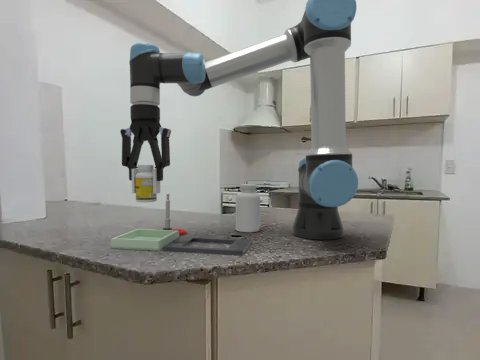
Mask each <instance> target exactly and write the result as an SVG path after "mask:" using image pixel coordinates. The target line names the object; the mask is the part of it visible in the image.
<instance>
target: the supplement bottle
mask: <svg viewBox="0 0 480 360" xmlns="http://www.w3.org/2000/svg"><path fill="white" fill-rule="evenodd" d="M137 167H138V168H137V169H138V170H139V173H137V174H136V176H135V184H136V193H135V201H136V202H137V203H153V202H156V201H157V195H158V193H157V194H153V169H154V164H137Z"/></svg>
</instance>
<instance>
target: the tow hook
mask: <svg viewBox="0 0 480 360" xmlns="http://www.w3.org/2000/svg"><path fill="white" fill-rule="evenodd" d="M170 202H171V200H170V193H166V200H165V219H164V227H163V229H162V230H177V231H179V236H184V235H186V234H187V230H186V229H183V228H172V227H171V218H170V214H171V213H170V209H171V205H170V204H171V203H170Z"/></svg>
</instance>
